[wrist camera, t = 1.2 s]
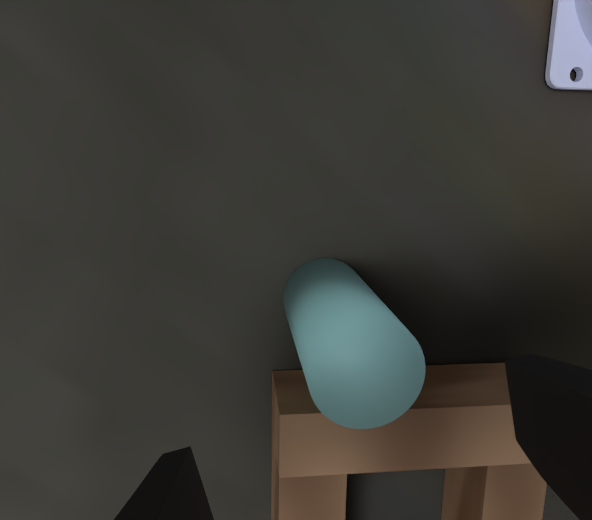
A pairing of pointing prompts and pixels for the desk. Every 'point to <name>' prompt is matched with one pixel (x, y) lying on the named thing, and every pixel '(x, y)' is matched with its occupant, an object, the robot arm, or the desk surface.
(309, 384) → the peg
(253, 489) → the desk surface
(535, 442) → the robot arm
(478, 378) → the socket block
